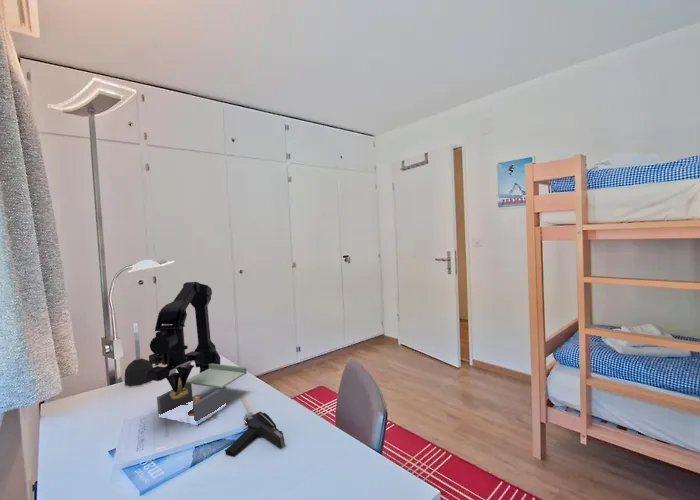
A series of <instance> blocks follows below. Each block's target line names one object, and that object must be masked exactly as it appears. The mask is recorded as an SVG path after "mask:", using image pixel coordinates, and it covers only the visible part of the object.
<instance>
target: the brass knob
mask: <svg viewBox="0 0 700 500" xmlns="http://www.w3.org/2000/svg"><path fill="white" fill-rule="evenodd" d="M192 398H193V404H194V403H196V402H198V401H199V400H201V395H198V394H196V395H192ZM188 415H189V416H194V407H193V409H192V410H190V411H189V412H188Z"/></svg>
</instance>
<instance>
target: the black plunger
mask: <svg viewBox="0 0 700 500" xmlns="http://www.w3.org/2000/svg"><path fill="white" fill-rule="evenodd" d="M133 334H134V335H133V336H134V348H135V349H134V350H135V359H134V360H132V361H131V362H130V363H129V364H128V365H127V366H126V368H125V370H124V387H126V388H129V389H130V388H135V387H143V386H144V385H148V384H150V383H152V382H153V380H147V379H146V372H147V370H149V369H152V368H154V366H153V364H152V365H151V364H150V362H149V359H145V358H141V352H140V351H141V348H140V335H139V326H138V323H137V322H135V323H134V322H133Z"/></svg>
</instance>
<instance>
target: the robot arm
mask: <svg viewBox="0 0 700 500" xmlns="http://www.w3.org/2000/svg"><path fill="white" fill-rule="evenodd" d="M182 285H183V286H182V288H181V290H180V291H179V292H178V293H177V295H176V297H175V298H174V300H173V301H171V302H169V303H167V304H165V305H164V306H163V307H162V308H161V309H160V310H159V312H158V314H157V319H156V324H155V328H154V332H155V336H154V337H153V338H152V339H151V340H150V343H149V348H150V350H151V352H152V353H151V354H150V355H148V361H149V362H150V364H151V365H152V366H153V365H155V366H153V368H152V369H149V370H147V372H146V379H147V380H153V381H155V382H161V381H163V380H165V379H166V380H167V382H168V384H169V385H170V388H171V390H173V391H174V392H177V390H178V381H179V376H181V378H182V389H183V388H184V386H185V383H186V381H187V379H189V376H190V374H191V371H192V370H193V368H199V373H201V372H203V371H205V370H207V369H209V364H211V363H212V364H221V356H220V354H219V353H218V352H219V351H217V348H216V347H217V346H216V345H215V344H214V342H213V341H212V339H211V332H210V331H211V330H210V329H211V328H210V320H209V309H208V308H209V307H208V306H209V304H210V302H211V300H212V294H213V290H212V287H210V286H209V285H208V284H204V283H200V282H199V281H186V282H184V283H183V284H182ZM189 305H191V306H192V307H193V308H194V312H195V314H194V315H195V321H196V322H195V323H196V335H197V343H198V344H197V345H196V348H195V349H194V350H193V351H190V352H187V353H186V350H188V349H189V348H188V345H186V344H185V334H184V333H185V332H184V327H186V325H185V323H186V320H187V317H188V313H187V308H188V307H189ZM192 362H194V364H192ZM160 364H161V365H162V366H159V365H160ZM165 365H166V366H165ZM176 371H177V372H176ZM153 381H152V382H153Z"/></svg>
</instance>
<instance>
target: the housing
mask: <svg viewBox="0 0 700 500" xmlns="http://www.w3.org/2000/svg"><path fill="white" fill-rule="evenodd" d="M192 385H193V384H190V383H185V386H184V388H187V389H188V396H187V397H185V398H183V399H180V400H171V399H170V392H171V391H173V389H170V390H168V391H167V392H165V393H163V394H161V395H159V396H157V397H156V402H157V414H160V415H161V414H163V413H165V412H167V411H169V410H172V409H174V408H176V407H178V406H180V405H188V404H186V403H188V402H191V401H193V398H192V397H193V387H192ZM227 397H228V395H227V386H225V387H223V388H217V389H216V390H215V391H213V392H211V393H210V394H208V395H206V396H204V397H203V398H200V400H199V401H198V402H196V403H194V404H193V407H194V420H195V421H198V420H200V419H201V418H203V417H205V416H207V415H208V414H210V413H212V412H214V411H215V410H217V409H218V408H219V407H221V406H222V405H224V404H225V403H227V404H228V398H227Z"/></svg>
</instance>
